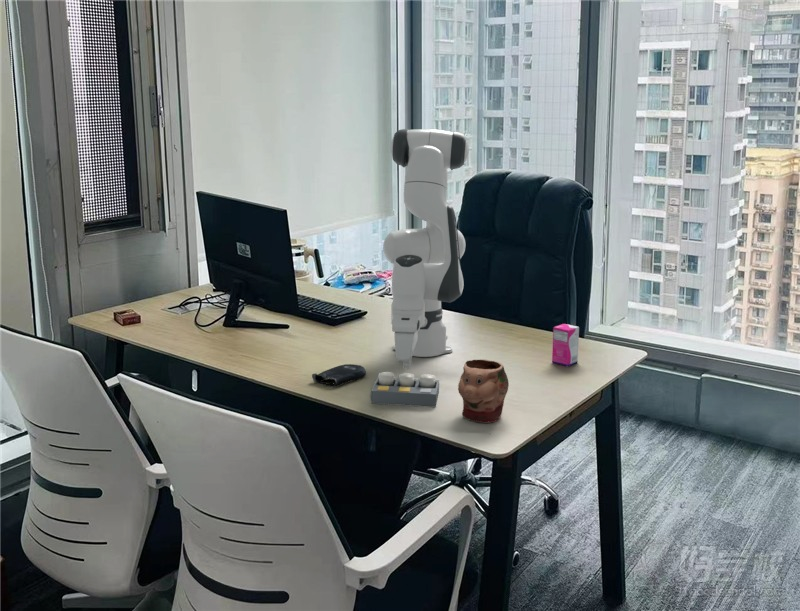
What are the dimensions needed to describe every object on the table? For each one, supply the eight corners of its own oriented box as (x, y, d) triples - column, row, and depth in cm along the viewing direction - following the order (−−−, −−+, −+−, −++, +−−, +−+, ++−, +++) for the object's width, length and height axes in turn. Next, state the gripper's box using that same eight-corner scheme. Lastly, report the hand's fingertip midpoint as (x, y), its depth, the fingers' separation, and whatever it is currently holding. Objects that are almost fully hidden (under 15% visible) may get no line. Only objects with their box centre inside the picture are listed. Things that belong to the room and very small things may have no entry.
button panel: (377, 389, 234) (377, 376, 233) (438, 392, 232) (439, 379, 231) (371, 403, 223) (371, 389, 222) (435, 407, 221) (436, 393, 220)
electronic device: (339, 395, 234) (373, 373, 245) (334, 376, 232) (369, 355, 243) (314, 392, 239) (348, 371, 251) (309, 373, 238) (345, 353, 249)
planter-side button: (420, 382, 230) (420, 373, 229) (435, 383, 229) (435, 374, 229) (419, 387, 226) (419, 378, 225) (434, 388, 225) (434, 379, 225)
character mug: (470, 398, 228) (472, 348, 224) (515, 404, 224) (517, 354, 220) (448, 424, 210) (450, 371, 206) (496, 432, 206) (499, 378, 202)
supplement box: (561, 358, 263) (564, 322, 260) (578, 363, 259) (580, 326, 256) (550, 362, 259) (553, 326, 256) (567, 367, 255) (569, 330, 252)
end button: (379, 380, 231) (379, 371, 230) (394, 381, 230) (394, 372, 230) (377, 385, 227) (377, 376, 226) (392, 386, 227) (392, 377, 226)
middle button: (400, 381, 230) (400, 372, 230) (414, 382, 230) (414, 373, 229) (398, 386, 226) (398, 377, 226) (413, 387, 226) (413, 378, 225)
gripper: (400, 307, 234) (400, 355, 237) (391, 327, 214) (390, 379, 217) (423, 308, 233) (422, 356, 236) (416, 328, 213) (415, 380, 217)
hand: (407, 367), depth 227 cm, fingers closed
